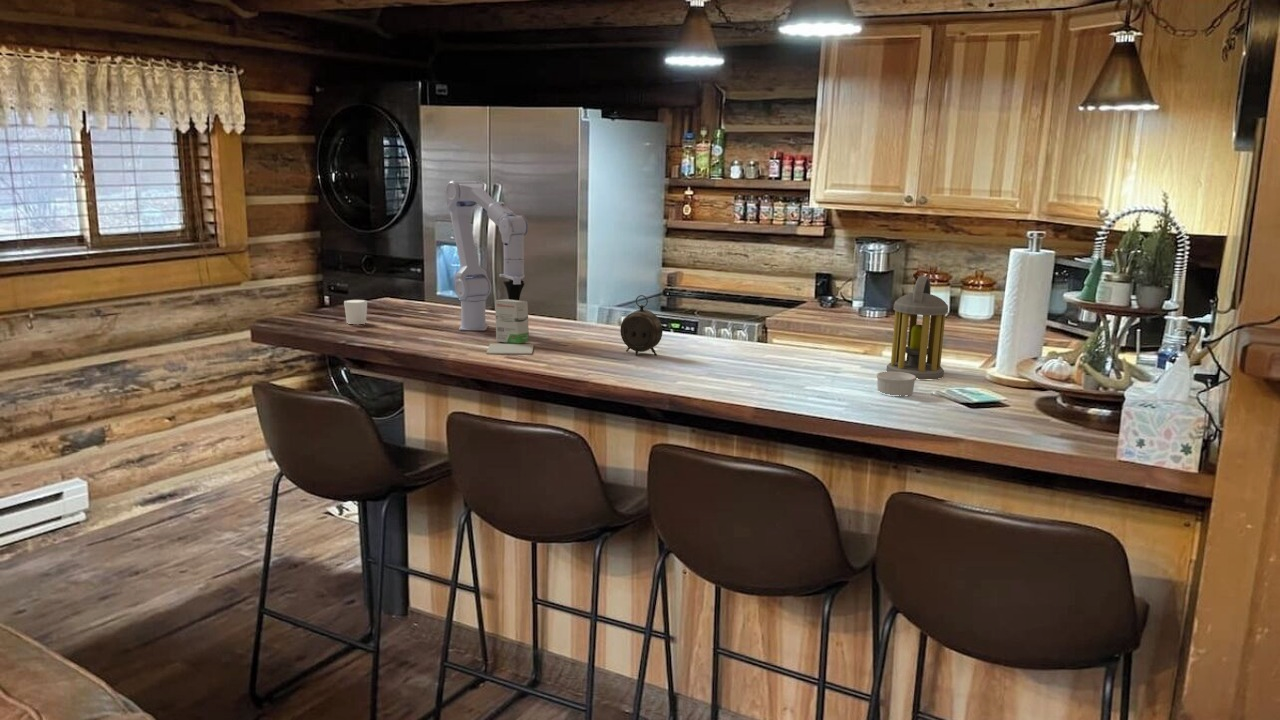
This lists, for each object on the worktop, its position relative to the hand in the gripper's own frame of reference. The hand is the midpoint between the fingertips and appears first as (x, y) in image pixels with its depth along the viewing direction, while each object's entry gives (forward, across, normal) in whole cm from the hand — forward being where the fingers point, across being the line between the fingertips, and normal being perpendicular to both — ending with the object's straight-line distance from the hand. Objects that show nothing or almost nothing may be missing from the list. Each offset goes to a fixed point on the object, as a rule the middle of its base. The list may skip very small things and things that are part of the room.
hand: (513, 306), depth 272 cm
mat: (+10, +15, -3) cm, 18 cm away
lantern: (+10, +58, +95) cm, 112 cm away
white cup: (+10, -30, -44) cm, 54 cm away
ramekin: (+10, +76, +79) cm, 110 cm away
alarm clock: (+10, +26, +31) cm, 41 cm away
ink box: (+9, +6, -1) cm, 11 cm away
